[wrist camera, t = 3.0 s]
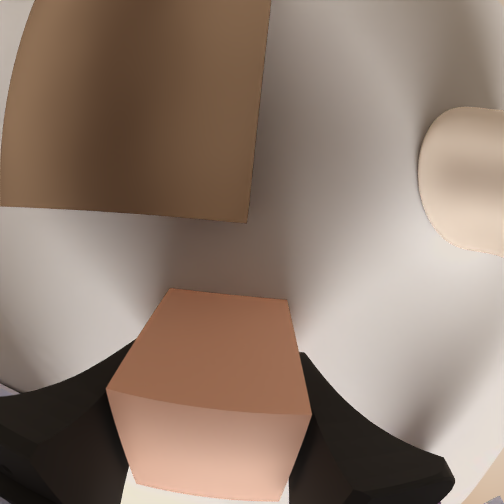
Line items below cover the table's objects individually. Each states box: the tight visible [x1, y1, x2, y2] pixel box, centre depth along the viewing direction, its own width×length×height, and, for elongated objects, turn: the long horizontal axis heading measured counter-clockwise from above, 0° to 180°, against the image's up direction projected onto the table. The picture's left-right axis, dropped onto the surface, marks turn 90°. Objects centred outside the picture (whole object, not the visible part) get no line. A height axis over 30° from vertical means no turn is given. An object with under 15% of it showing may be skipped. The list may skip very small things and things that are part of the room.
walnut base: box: [0, 0, 271, 223], centre depth 8 cm, size 9×9×3 cm
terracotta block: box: [106, 288, 312, 501], centre depth 9 cm, size 4×4×6 cm
